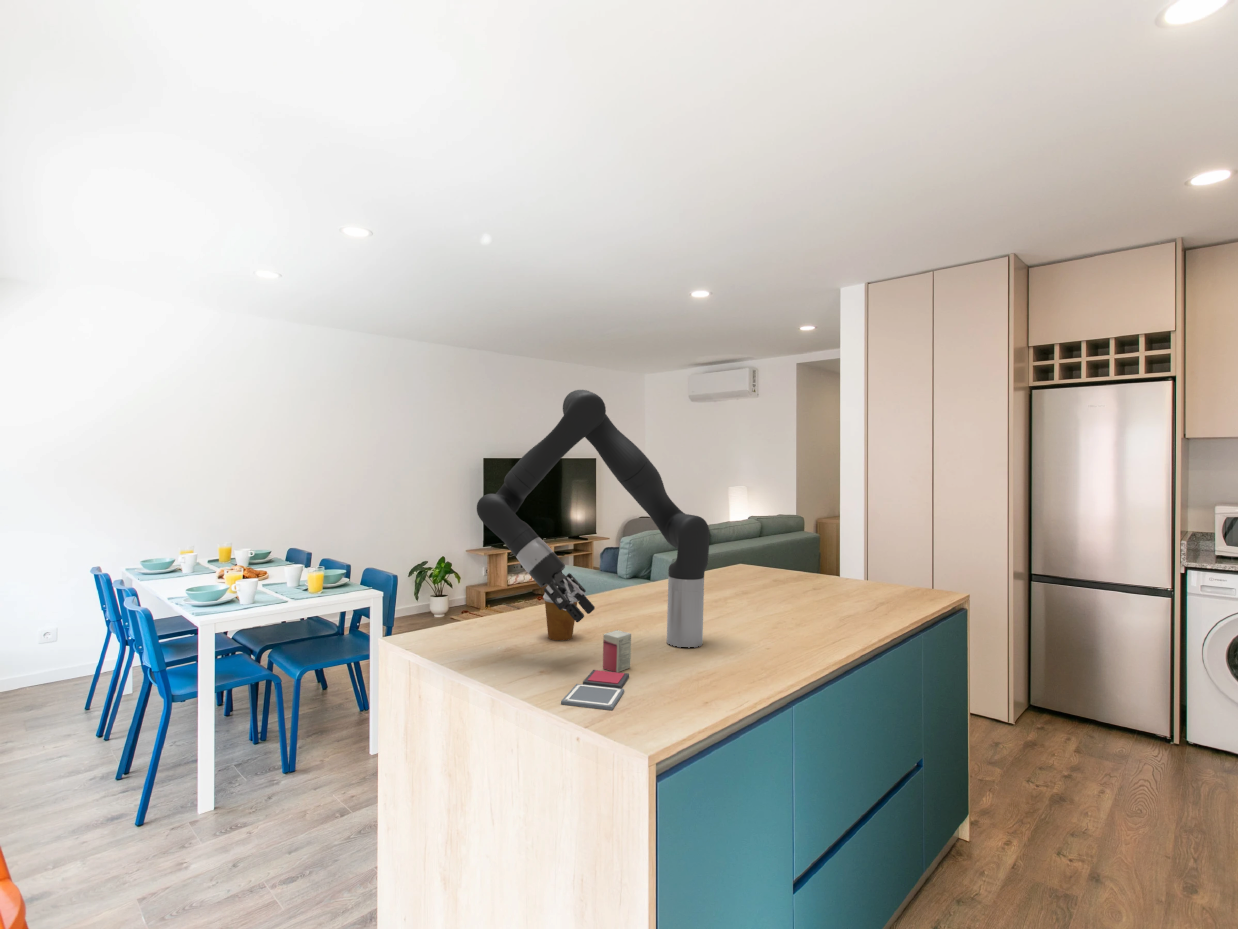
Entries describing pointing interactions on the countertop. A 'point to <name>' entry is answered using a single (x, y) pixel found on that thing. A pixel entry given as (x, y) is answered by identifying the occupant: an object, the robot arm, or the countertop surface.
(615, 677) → the ink pad
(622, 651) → the small box
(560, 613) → the disposable coffee cup
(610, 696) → the board
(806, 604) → the countertop surface
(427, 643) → the countertop surface
